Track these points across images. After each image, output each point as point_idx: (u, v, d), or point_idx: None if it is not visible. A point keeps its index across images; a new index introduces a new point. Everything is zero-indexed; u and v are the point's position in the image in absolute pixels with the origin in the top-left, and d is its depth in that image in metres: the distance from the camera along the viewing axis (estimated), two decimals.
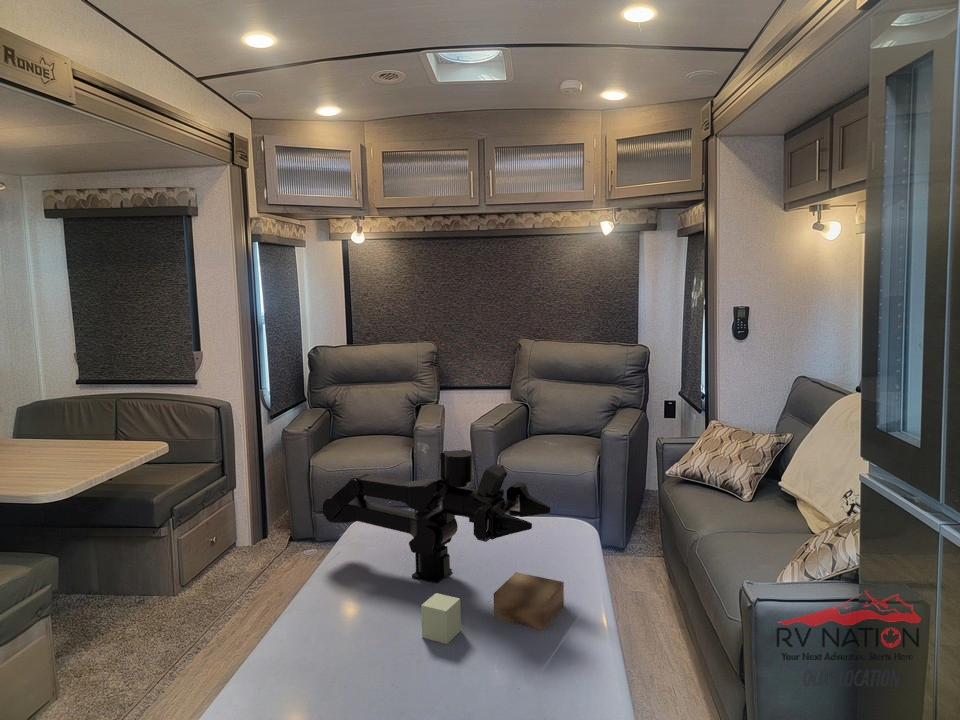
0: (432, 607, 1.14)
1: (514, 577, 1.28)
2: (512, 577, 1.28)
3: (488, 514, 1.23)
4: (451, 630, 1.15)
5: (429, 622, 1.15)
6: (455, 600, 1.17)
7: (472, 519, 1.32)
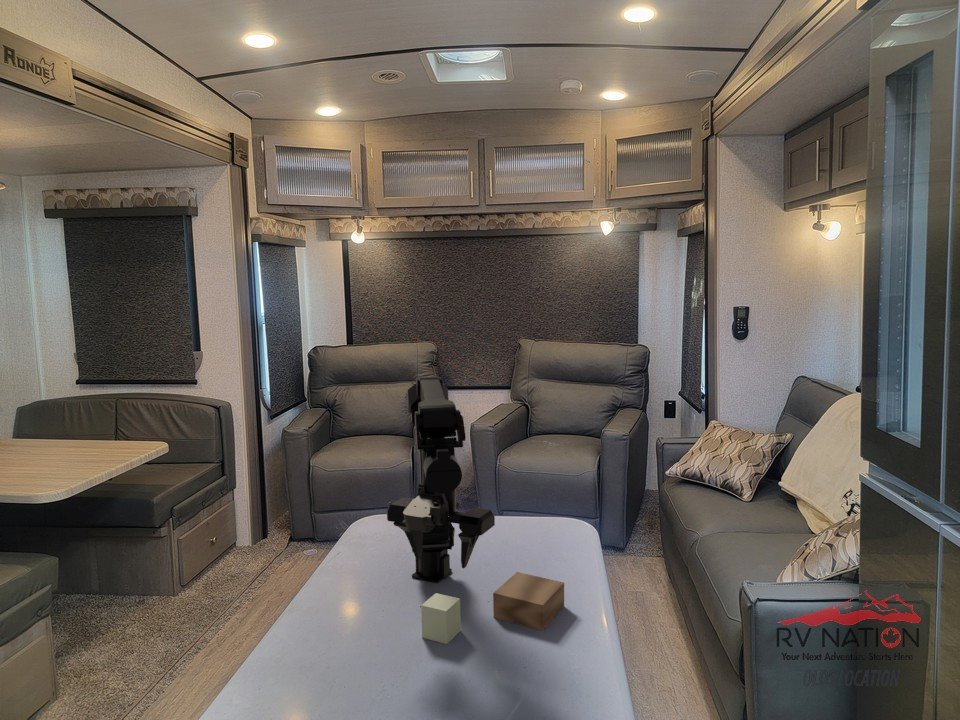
0: (432, 607, 1.14)
1: (515, 577, 1.28)
2: (513, 577, 1.28)
3: None
4: (451, 630, 1.15)
5: (429, 622, 1.15)
6: (455, 600, 1.17)
7: None
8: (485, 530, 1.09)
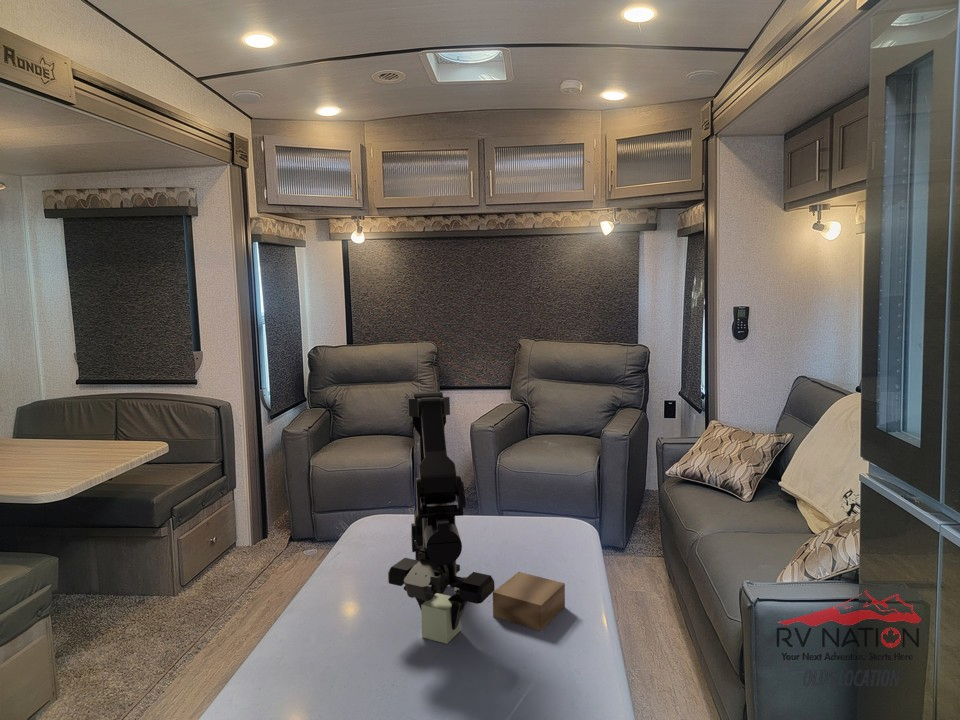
0: (432, 607, 1.14)
1: (516, 576, 1.28)
2: (514, 576, 1.28)
3: None
4: (451, 630, 1.15)
5: (429, 622, 1.15)
6: None
7: None
8: (485, 597, 1.11)
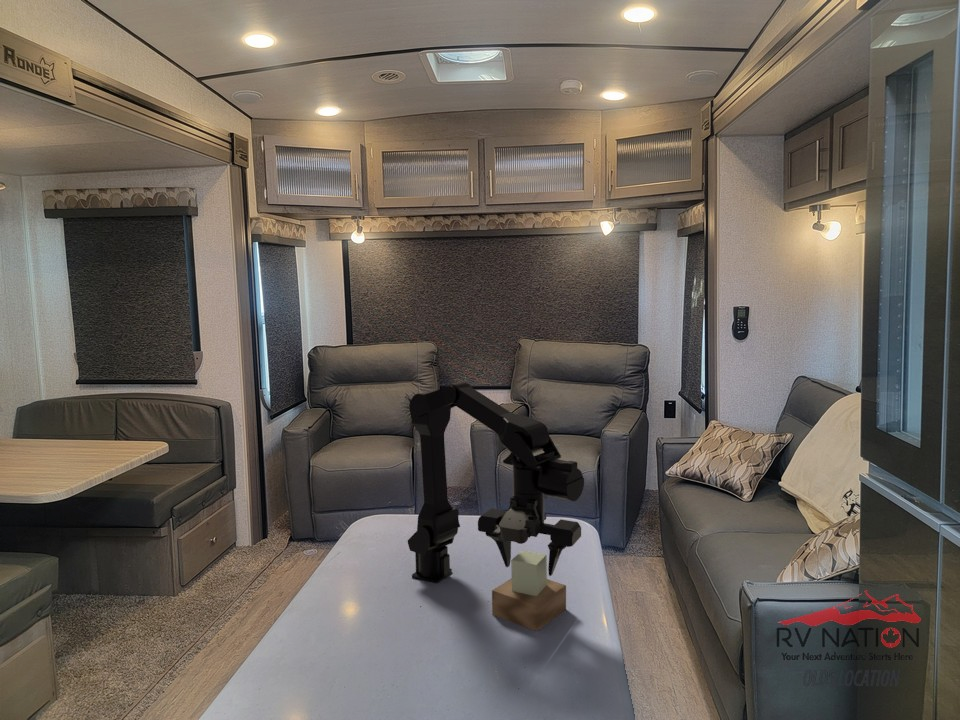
0: (522, 562, 1.21)
1: None
2: None
3: None
4: (540, 584, 1.21)
5: (519, 576, 1.21)
6: (542, 555, 1.23)
7: None
8: (574, 541, 1.17)
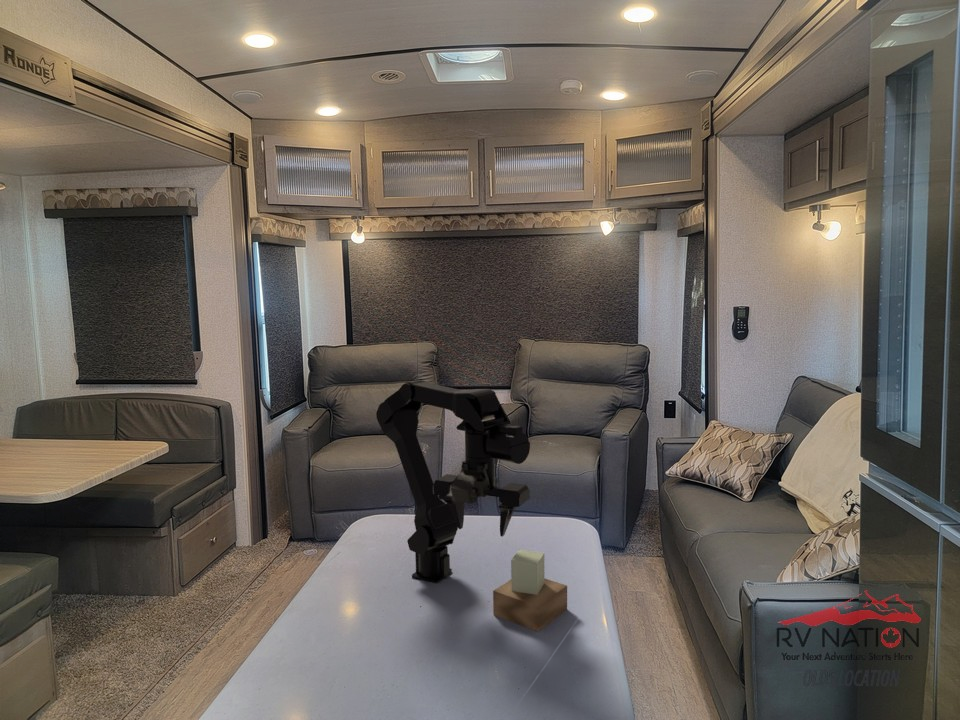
0: (522, 561, 1.21)
1: None
2: None
3: None
4: (539, 582, 1.22)
5: (519, 576, 1.22)
6: (540, 554, 1.24)
7: None
8: (522, 502, 1.23)
